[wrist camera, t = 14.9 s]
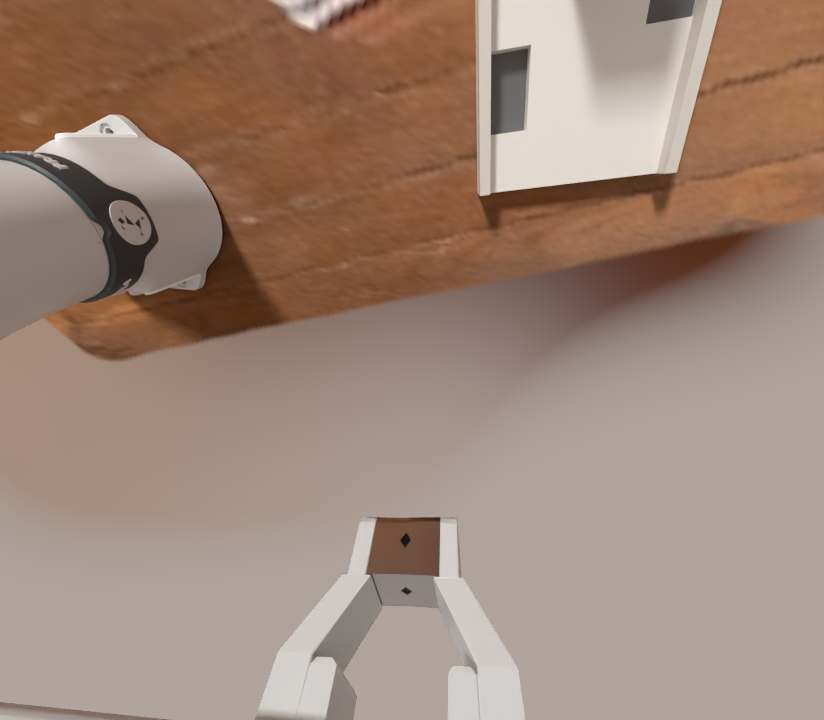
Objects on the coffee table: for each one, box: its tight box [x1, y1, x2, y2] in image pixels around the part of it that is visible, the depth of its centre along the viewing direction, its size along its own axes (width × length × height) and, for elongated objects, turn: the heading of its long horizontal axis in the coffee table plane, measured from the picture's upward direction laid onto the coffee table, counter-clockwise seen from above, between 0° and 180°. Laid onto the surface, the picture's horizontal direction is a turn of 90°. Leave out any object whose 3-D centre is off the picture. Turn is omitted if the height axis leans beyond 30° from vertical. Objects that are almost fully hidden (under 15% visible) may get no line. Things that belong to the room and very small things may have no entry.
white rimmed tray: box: [475, 0, 722, 196], centre depth 26 cm, size 18×24×4 cm
